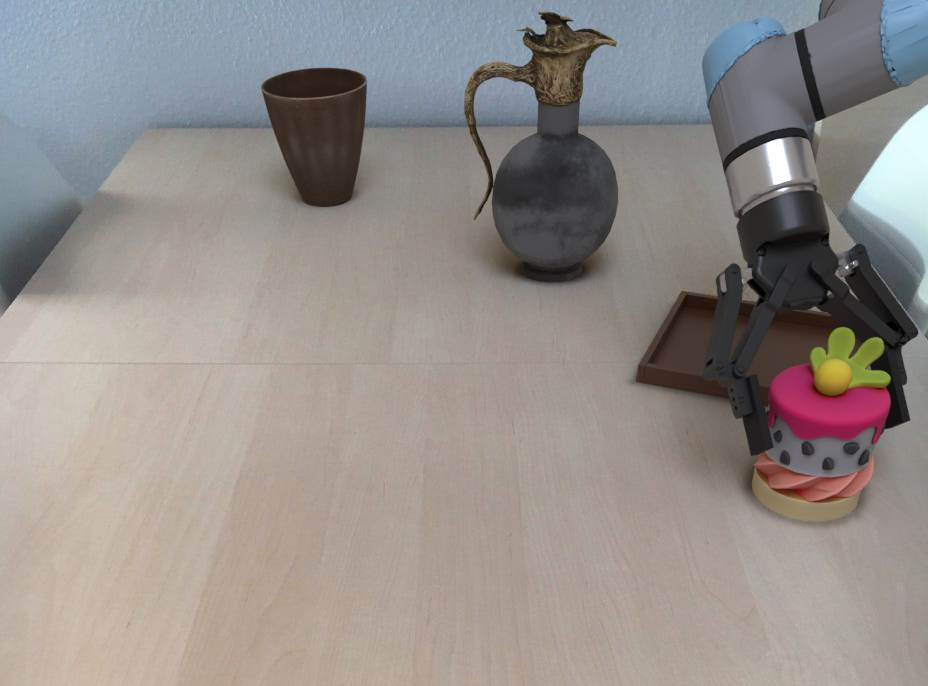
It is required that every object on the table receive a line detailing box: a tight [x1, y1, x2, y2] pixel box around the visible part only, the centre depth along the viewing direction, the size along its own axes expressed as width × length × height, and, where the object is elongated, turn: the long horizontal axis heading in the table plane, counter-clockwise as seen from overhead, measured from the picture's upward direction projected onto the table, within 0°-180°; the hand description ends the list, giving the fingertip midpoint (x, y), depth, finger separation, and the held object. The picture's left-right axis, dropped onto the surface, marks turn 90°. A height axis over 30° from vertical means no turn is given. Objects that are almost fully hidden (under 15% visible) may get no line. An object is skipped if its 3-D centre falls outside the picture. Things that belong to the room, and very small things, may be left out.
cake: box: [751, 327, 891, 523], centre depth 92 cm, size 10×11×15 cm
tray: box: [636, 290, 863, 407], centre depth 115 cm, size 23×20×2 cm
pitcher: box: [463, 11, 619, 283], centre depth 124 cm, size 11×19×30 cm, turn 81°
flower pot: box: [260, 67, 368, 207], centre depth 150 cm, size 15×15×16 cm
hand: (830, 438), depth 91 cm, fingers open, 13 cm apart
